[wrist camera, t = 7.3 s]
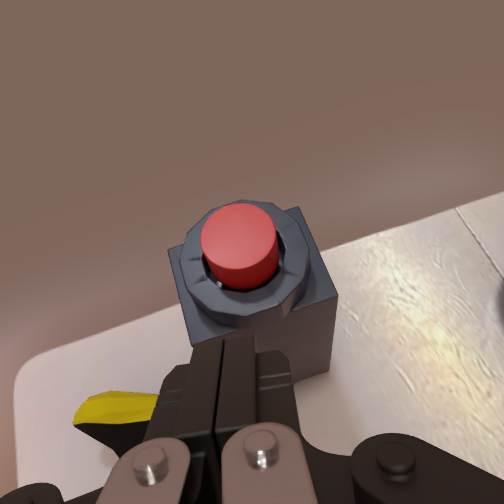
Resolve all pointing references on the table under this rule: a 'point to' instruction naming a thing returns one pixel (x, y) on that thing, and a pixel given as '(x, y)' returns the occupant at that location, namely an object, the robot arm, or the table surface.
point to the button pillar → (264, 296)
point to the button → (240, 246)
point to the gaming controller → (116, 418)
